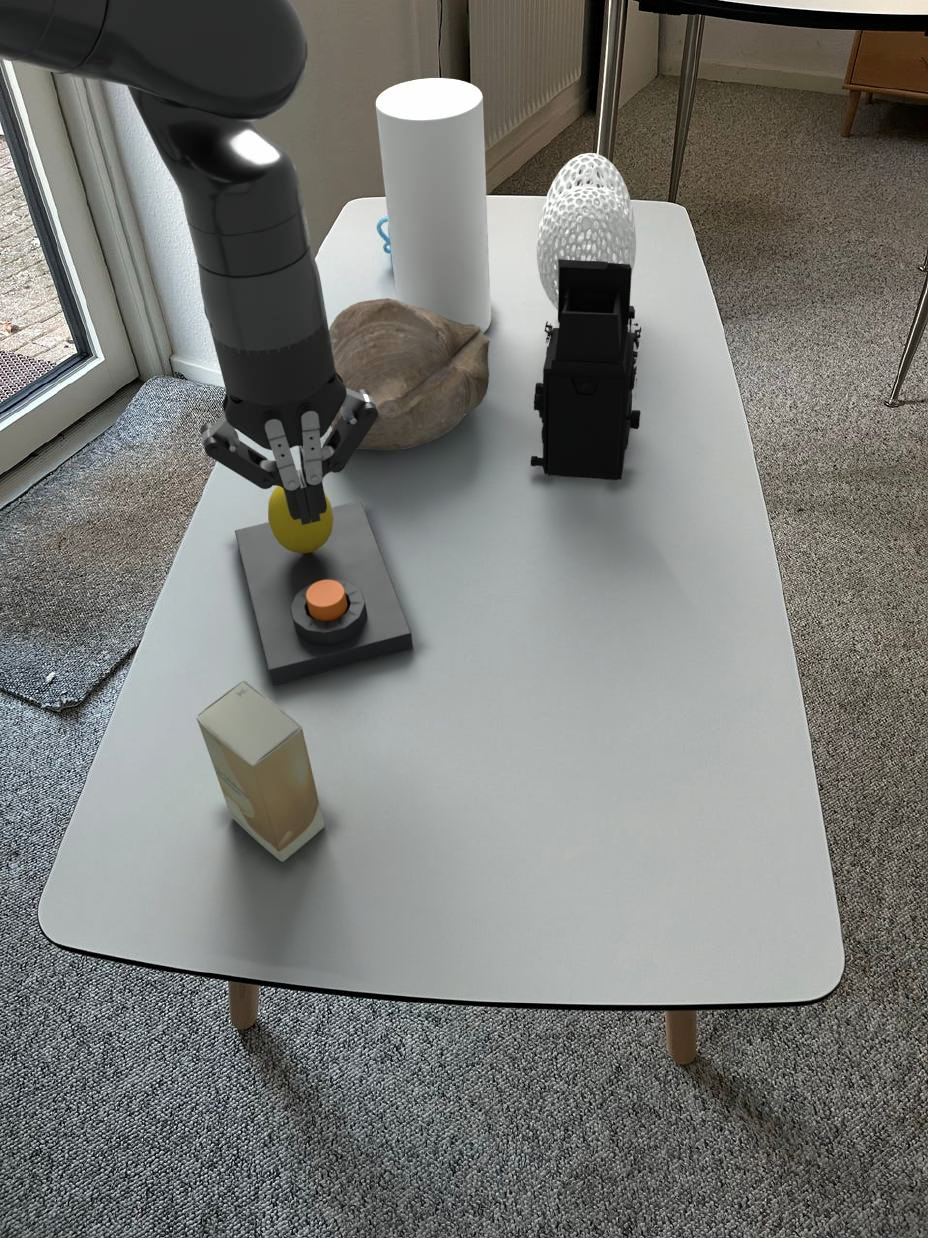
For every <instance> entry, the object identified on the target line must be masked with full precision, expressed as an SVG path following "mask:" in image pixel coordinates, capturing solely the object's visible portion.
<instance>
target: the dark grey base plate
mask: <svg viewBox="0 0 928 1238" xmlns="http://www.w3.org/2000/svg"><path fill="white" fill-rule="evenodd" d="M331 508H332V513H333V527H332V532H331V535H330V536H329V538H328V540H327V541H326V543H325V544H324V545H323V546H322V547H320V548H319V549H317V550H315V551H313V552H310V553H295V552H292V551H290V550H288V549H286V548H284V547H283V546H282V545H281V544H280V543H279V542H278V541H277V540H276V538H275V537H274V535H273V533H272V530H271V527H270V524H269V521H268V522H264V523H260V524H255V525H251V526H248V527H243V528H239V529H235V530H234V533H235V539H236V542H237V547H238V550H239V555H240V559H241V563H242V567H243V572H244V575H245V580H246V585H247V588H248V593H249V596H250V601H251V604H252V609H253V613H254V618H255V622H256V626H257V629H258V633H259V638H260V641H261V645H262V650H263V654H264V658H265V662H266V667H267V671H268V674H269V679H270V681H271V684H272V685H274V686H275V685H278V684H282V683H286V682H289V681H290V682H291V681H294V680H297V679H301V678H304V677H308V676H312V675H316V674H320V673H324V672H327V671H328V672H329V671H331V670H335V669H339V668H343V667H347V666H349V665H354V664H358V663H362V662H365V661H370V660H372V659H377V658H381V657H385V656H388V655H392V654H396V653H400V652H404V651H408V650H412V649H414V644H413V643H414V642H413V637H412V636H413V635H412V631H411V629H410V626H409V623H408V621H407V618H406V616H405V613H404V610H403V608H402V604H401V601H400V600H399V597H398V595H397V592H396V589H395V586H394V584H393V581H392V578H391V577H390V574H389V571H388V568H387V565H386V563H385V560H384V557H383V554H382V553H381V549H380V547H379V544H378V541H377V539H376V536H375V533H374V530H373V528H372V526H371V523H370V520H369V518H368V515H367V512H366V509H365V507H364V505H363V501H362V500H357V501H356V500H355V501H352V502H349V503H344V504H340V505H336V506H331ZM321 580H334V581H337V582H339V583H340V584H341V585H342V586H343V587H344V590H345V595H346V601H347V609H346V611H345V613H344V614H343V615H342V616H341V617H339V618H337V619H335V620H332V621H319V620H317V619H315V618H313V617H312V616H311V614H310V612H309V609H308V604H307V600H306V592H307V590H308V588H309V587H310V586H311V585H312V584H314V583H316V582H318V581H321Z"/></svg>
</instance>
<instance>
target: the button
mask: <svg viewBox="0 0 928 1238" xmlns="http://www.w3.org/2000/svg"><path fill="white" fill-rule="evenodd" d="M306 600H307V604H308V609H309V612H310V614H311V616H312V617H313V618H315V619H317V620H319V621H332V620H335V619H337V618H339V617H341V616H342V615H343V614H344V613H345V611H346V609H347V601H346V595H345V590H344V587H343V586H342V585H341V584H340V583H339V582H337V581H334V580H321V581H318V582H316V583H314V584H312V585H311V586H310V587H309V588H308V590H307V592H306Z"/></svg>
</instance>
